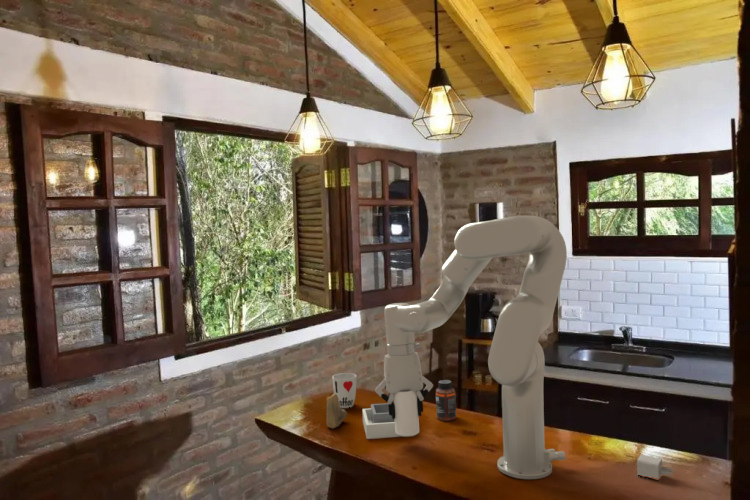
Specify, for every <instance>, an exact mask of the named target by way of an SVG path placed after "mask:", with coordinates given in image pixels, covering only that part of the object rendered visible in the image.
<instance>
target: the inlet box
mask: <svg viewBox="0 0 750 500" xmlns="http://www.w3.org/2000/svg"><path fill="white" fill-rule="evenodd" d="M362 424H363V429H364V432H365V433H364V434H365V436H366V437H365V438H366V439H367V440H370V439H371V440H375V439H385V438H386V439H387V438H398V437H399V438H400V437H401V436H398V435H397V434H396V431H395V420H394V419H392V416H391V415H389V410H388V403H387V402H386V403H371V404H370V408H362Z"/></svg>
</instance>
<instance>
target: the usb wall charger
mask: <svg viewBox="0 0 750 500" xmlns="http://www.w3.org/2000/svg"><path fill="white" fill-rule="evenodd" d="M636 468H637V469H636V471H637V473H636V474H637V476H638V475H642V476H648V477H654V478H658V479H659V477H660V475H661V474H663V475H665V476H670V477H673V473H675V469H673V468H669V467H665V466H663V458H658V457H655V456H649V455H646V454H645V455H644V454H640V455H639V456H638V457H637V460H636Z"/></svg>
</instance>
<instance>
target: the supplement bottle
mask: <svg viewBox="0 0 750 500" xmlns="http://www.w3.org/2000/svg"><path fill="white" fill-rule="evenodd" d="M437 384H438V387H437V388H436V389H435V403H436V404H435V405H436V418H437V419H438V420H440V421H443V422H444V421H445V422H450V421H453V420H455V419H456V418H457V406H456V405H457V404H456V403H457V400H456V390H455V388H454V387H453V385H452V384H453V383H452V381H451V380H450V379H443V380H439V381H438V383H437Z"/></svg>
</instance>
